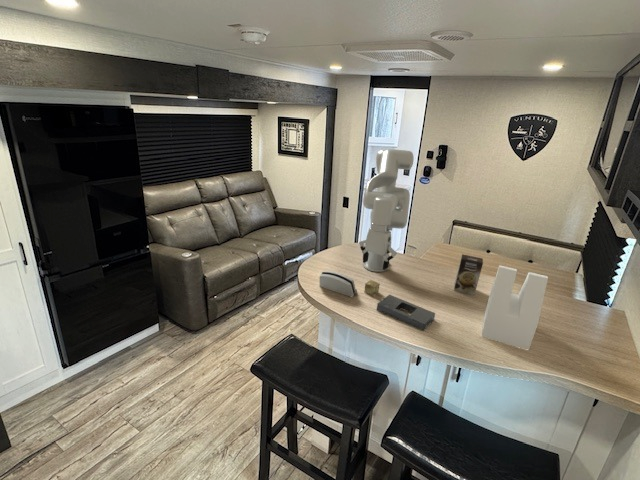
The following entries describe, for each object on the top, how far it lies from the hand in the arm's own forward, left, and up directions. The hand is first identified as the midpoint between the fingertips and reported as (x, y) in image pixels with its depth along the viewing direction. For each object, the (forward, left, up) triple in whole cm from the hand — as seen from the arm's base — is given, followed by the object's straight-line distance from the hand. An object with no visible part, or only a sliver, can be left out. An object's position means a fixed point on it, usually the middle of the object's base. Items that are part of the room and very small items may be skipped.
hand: (375, 265), depth 149 cm
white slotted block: (-13, +52, -14) cm, 55 cm away
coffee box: (-34, +30, -14) cm, 47 cm away
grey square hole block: (+5, +19, -13) cm, 24 cm away
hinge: (+9, -12, -14) cm, 20 cm away
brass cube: (-1, 0, -14) cm, 14 cm away
